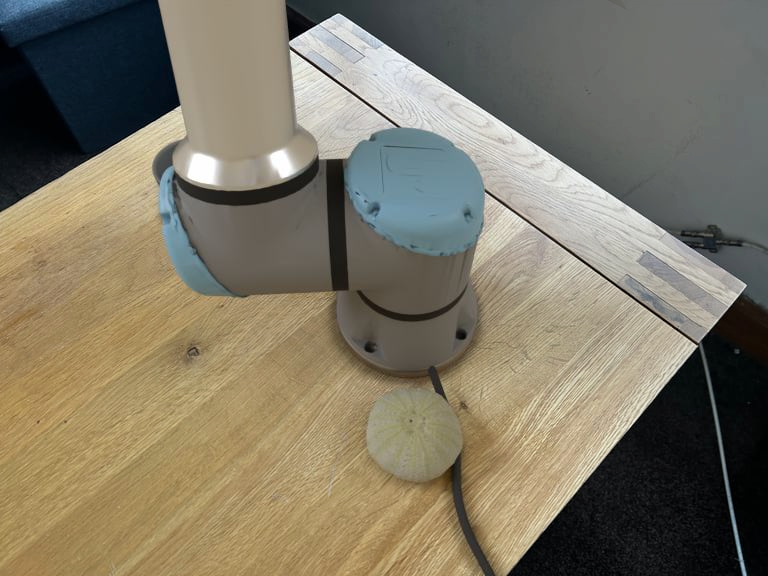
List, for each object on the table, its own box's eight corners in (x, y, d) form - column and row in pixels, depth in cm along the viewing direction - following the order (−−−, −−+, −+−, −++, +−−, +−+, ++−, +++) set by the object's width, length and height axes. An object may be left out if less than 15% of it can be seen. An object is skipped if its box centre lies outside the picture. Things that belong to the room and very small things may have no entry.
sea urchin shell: (420, 509, 59) (378, 443, 57) (378, 481, 66) (339, 421, 64) (489, 442, 63) (452, 377, 60) (442, 422, 70) (407, 363, 67)
